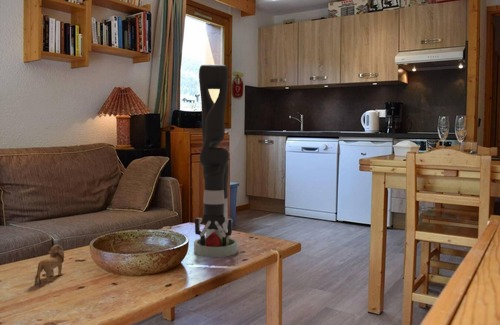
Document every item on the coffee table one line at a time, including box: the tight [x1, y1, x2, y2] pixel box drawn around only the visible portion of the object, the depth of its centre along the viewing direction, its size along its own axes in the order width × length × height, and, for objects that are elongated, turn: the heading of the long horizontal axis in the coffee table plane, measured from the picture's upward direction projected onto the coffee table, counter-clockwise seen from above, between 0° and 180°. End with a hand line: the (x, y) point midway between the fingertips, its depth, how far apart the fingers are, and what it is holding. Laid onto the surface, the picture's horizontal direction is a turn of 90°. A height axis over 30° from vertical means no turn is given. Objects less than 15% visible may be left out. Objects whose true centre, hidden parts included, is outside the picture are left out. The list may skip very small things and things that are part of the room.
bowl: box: [193, 236, 239, 258], centre depth 163 cm, size 16×16×4 cm
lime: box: [220, 236, 229, 246], centre depth 165 cm, size 5×5×5 cm
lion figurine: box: [34, 244, 65, 286], centre depth 132 cm, size 15×5×9 cm, turn 4°
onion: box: [206, 231, 221, 247], centre depth 160 cm, size 6×6×8 cm
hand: (213, 246), depth 160 cm, fingers open, 7 cm apart
